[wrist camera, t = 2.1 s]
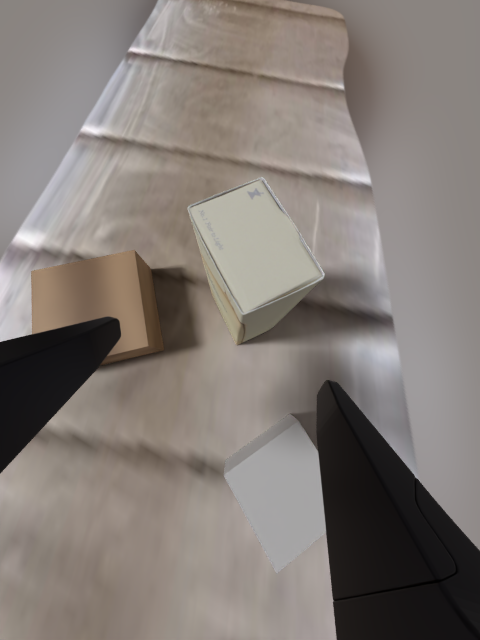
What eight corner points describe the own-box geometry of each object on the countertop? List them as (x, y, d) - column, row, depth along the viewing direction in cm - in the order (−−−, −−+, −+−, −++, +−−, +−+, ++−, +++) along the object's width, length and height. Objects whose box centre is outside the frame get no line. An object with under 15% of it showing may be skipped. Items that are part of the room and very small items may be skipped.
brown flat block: (73, 372, 20) (32, 373, 16) (68, 288, 22) (31, 271, 18) (165, 350, 20) (148, 346, 16) (152, 270, 22) (134, 249, 18)
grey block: (269, 538, 17) (276, 574, 14) (225, 457, 18) (223, 475, 15) (335, 485, 18) (354, 508, 15) (289, 412, 19) (298, 420, 16)
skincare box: (211, 294, 21) (179, 202, 10) (248, 277, 22) (262, 170, 10) (237, 348, 20) (238, 318, 8) (276, 328, 21) (330, 274, 9)
